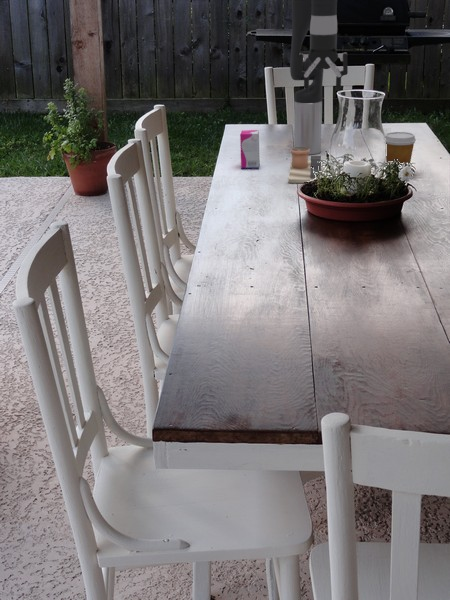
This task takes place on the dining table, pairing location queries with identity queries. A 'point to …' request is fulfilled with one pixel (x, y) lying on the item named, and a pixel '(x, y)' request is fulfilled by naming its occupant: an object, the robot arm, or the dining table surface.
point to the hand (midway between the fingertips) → (322, 90)
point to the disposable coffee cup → (399, 146)
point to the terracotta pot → (299, 157)
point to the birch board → (305, 171)
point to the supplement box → (249, 149)
